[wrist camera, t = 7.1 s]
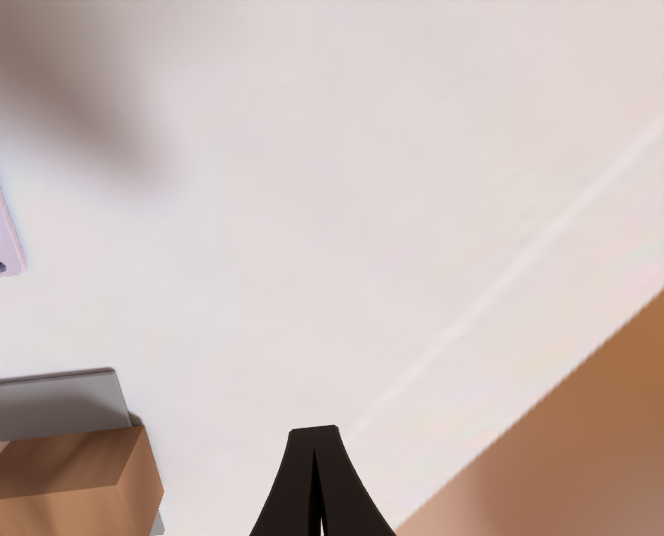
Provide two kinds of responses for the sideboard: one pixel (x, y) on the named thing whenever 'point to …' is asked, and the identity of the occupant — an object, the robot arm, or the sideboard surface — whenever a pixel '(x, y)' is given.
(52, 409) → the slate rubber mat
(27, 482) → the walnut block
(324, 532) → the robot arm
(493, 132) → the sideboard surface
